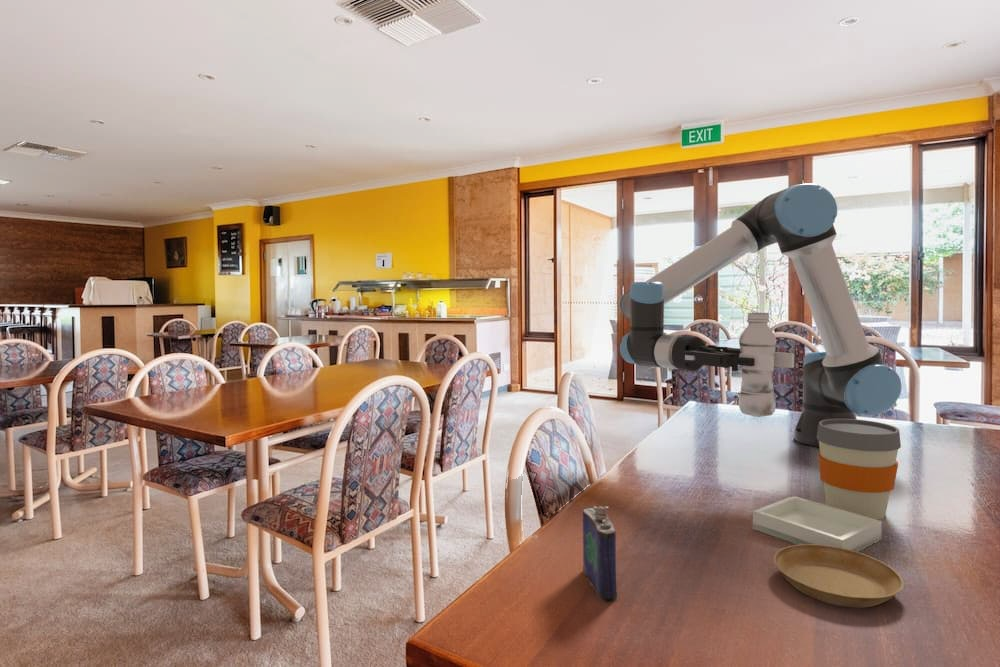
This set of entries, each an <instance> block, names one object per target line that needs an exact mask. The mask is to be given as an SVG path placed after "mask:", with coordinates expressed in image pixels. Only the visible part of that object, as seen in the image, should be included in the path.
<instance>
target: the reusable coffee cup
mask: <svg viewBox="0 0 1000 667" xmlns="http://www.w3.org/2000/svg"><path fill="white" fill-rule="evenodd" d="M900 433H901V432H900V429H899V428H898V427H896V426H894V425H892V424H888V423H884V422H880V421H879V422H878V421H873V420H866V419H827V420H822V421H820V422H819V425H818V432H817V440H819V447H818V448H819V452H817V458H818V467H819V475H820V480H821V481H822V482H823V489H824V497H825V499H824V500H825V505H827V506H831V507H834V508H838V509H841V510H845V511H848V512H851V513H855V514H858V515H862V516H865V517H869V518H872V519H876V520H877V519H879V520H882V519H884V518H885V517H886V515H887V510H888V506H889V505H888V504H889V499H890V494H891V491H893V490H894V488H895V485H896V478H897V474H898V467H899V461H897V456H898V453H899V452H898V451H899V449H901V448H902V446H901V445H902V444H901V434H900Z"/></svg>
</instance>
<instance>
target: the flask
mask: <svg viewBox="0 0 1000 667" xmlns="http://www.w3.org/2000/svg"><path fill="white" fill-rule="evenodd" d="M605 510H609V506H607V505H605V506H596V505H594V506H593V507H590V508H584V509H583V510H582V547H583V548H582V571H583V574H584V575H583V576H584V577H586V578H587V581H588V584H589V585H590V586H591V587H593V590H594V591H595V592H596V596H597V597H598V600H600V601H602V602H604V603H614V602H616V601H617V599H618V598H617V597H618V592H617V555H616V554H617V552H616V550H617V547H616V545H617V544H616V541H617V540H616V539H617V535H616V534H617V532H616V529H615V526H614V524H613V522H612V521H611V519H610V518H609V516H608V514H607V513H606V512H605Z"/></svg>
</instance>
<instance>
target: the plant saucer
mask: <svg viewBox="0 0 1000 667" xmlns="http://www.w3.org/2000/svg"><path fill="white" fill-rule="evenodd" d="M773 563H774V565H775V566H776V568H777V569H778V570H779V572H780V573H781V574H782V576H783V577H784V578H785V579H786V580H787V581H788V582H789V584H791V585H792V587H794V588H795V589H797V591H799V592H801V593H803V594H805V595H806V596H807V597H810V598H812V599H815V600H818V601H819V602H822V603H827V604H829V605H830V604H831V605H836V606H840V607H844V608H845V607H846V608H856V609H857V608H859V609H861V608H862V609H863V608H872V607H876V606H879V605H880V604H883V603H885V602H887V601H889V600H890V599H892V598H893V597H895V596H897V594H899V593H900V592H901V591H902V590H903V588H904V580H903V577H902V576H901V575H900V574H899V573H898V572H897V571H896V570H895V569H893V568H892V567H891V566H890V565H888V564H887V563H884V562H883V561H881V560H879V559H877V558H876V557H875V558H874V557H872V556H870V555H867V554H865V553H862V552H860V551H859V552H855V551H852V550H848V549H844V548H839V547H834V546H827V545H817V544H801V545H797V544H794V545H788V546H785V547H782V548H780V549H779V550H776V552H775V553H774V555H773Z"/></svg>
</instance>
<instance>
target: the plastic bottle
mask: <svg viewBox="0 0 1000 667" xmlns="http://www.w3.org/2000/svg"><path fill="white" fill-rule="evenodd" d="M769 317H770V313H769V312H748V313H747V320H746V323H748V324H747V326H746V328H745V329H744V330H743V331H742V333H741V334H740V336H739V340H738V342H739V343H738V344H739V348H740V352H741V353H744V354H756V355H767V356H774V354H775V352H776V347H777V339H776V336H775V334H774V332H773V331H772V329H771V328H770V327H769V325H768V323H770V318H769ZM773 373H774V371H766V370H756V369H747V368H741V382H740V391H739V395H738V402H737V403H738V408H739V410H740V412H741V413H742V414H744V415H747V416H751V417H754V418H760V417H763V418H764V417H767V416H772V415H773V414H774V413H775V411H776V406H777V400H776V394H775V392H774V391H775V390H774V389H775V388H774V377H773V376H774V375H773Z"/></svg>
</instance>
